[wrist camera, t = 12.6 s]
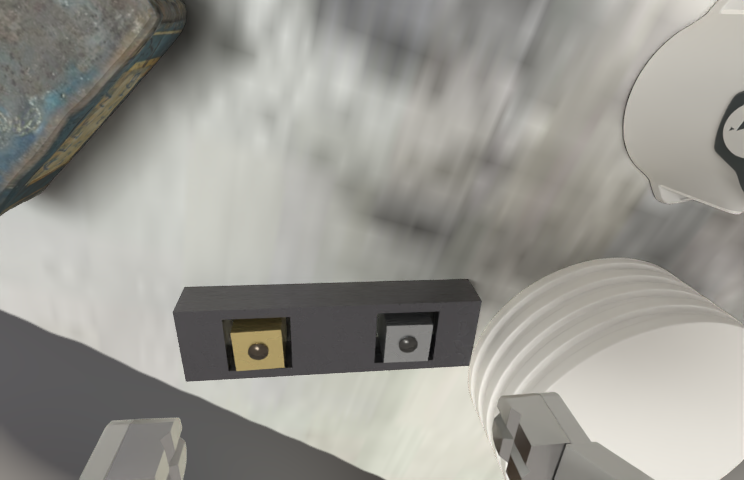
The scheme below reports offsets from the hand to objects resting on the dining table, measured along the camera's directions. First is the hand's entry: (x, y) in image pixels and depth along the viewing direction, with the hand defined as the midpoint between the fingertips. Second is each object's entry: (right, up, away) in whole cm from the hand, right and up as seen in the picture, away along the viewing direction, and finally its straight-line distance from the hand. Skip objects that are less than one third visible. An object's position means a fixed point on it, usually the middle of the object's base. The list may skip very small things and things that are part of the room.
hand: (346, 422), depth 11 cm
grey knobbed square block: (+4, -3, +35) cm, 35 cm away
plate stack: (+26, -10, +42) cm, 50 cm away
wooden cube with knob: (-10, -3, +33) cm, 35 cm away
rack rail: (-3, -3, +34) cm, 34 cm away
